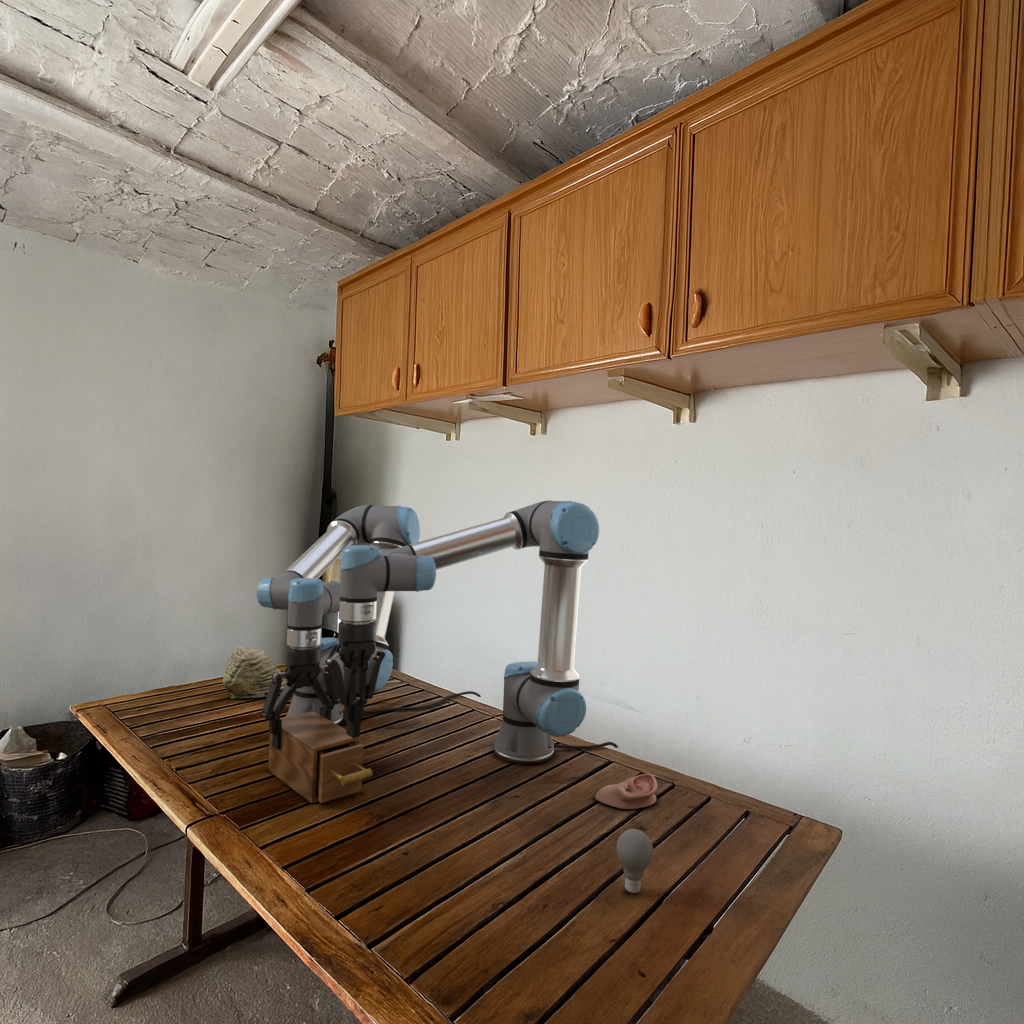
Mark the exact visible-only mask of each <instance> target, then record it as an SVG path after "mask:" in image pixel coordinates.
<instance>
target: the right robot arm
mask: <svg viewBox="0 0 1024 1024" xmlns="http://www.w3.org/2000/svg"><path fill="white" fill-rule="evenodd" d="M599 537H600V524H599V519H598V517H597V515H596V514H595V512H594V511H593V510H592V509H591V507H589V506H588V505H586V504H584V503H581V502H578V501H572V500H542V501H539V502H535V503H532V504H530V505H527V506H524V507H521V508H518V509H514V510H512V511H508V512H506V513H505V514H504V515H503V517H502V518H499V519H495V520H491V521H487V522H485V523H480V524H477V525H473V526H469V527H466V528H463V529H459V530H457V531H453V532H449V533H446V534H441V535H439V536H435V537H432V538H428V539H425V540H421V541H420V540H419V541H418V542H417V543H413V544H410V545H407V546H403V547H399V548H396V549H391V548H388V549H383V550H381V551H379V548H378V547H376V546H369V545H366V544H356V545H350V546H346V547H345V548H344V549H343V551H342V555H341V560H340V567H339V569H340V570H339V572H340V573H339V575H340V576H339V581H340V602H339V611H338V619H339V620H340V622H339V623H338V627H337V628H338V629H337V638H338V641H339V645H338V647H337V650H336V654H335V655H333V656H332V657H331V658H329V657H328V658H326V660H325V662H326V664H327V666H328V667H329V669H330V674H331V679H332V685H333V690H334V695H335V700H336V702H338V703H340V705H342V706H343V710H344V713H343V721H346V730H347V733H346V734H347V735H349V736H350V737H352V738H356V737H359V738H360V737H361V719H363V718H364V715H365V713H364V710H365V705H367V704H368V700H372V699H373V697H374V695H375V693H374V691H375V686H376V682H377V678H378V674H379V670H380V666H381V662H382V661H383V659H384V657H385V652H383V651H380V650H378V649H376V644H375V642H374V640H375V638H376V623H375V622H374V621H373V620H375V619H376V612H377V594H378V592H385V591H395V592H416V593H418V592H423V591H430V590H432V589H433V588H434V586H435V584H436V580H437V570H441V569H444V568H447V567H451V566H454V565H457V564H458V565H459V564H460V563H464V562H467V561H471V560H474V559H477V558H481V557H484V556H487V555H491V554H494V553H497V552H500V551H504V550H507V549H510V548H512V549H514V550H517V551H518V550H521V549H524V548H531V547H538V548H539V549H538V558H539V559H540V560H541V562H543V565H544V569H543V580H542V581H543V583H542V596H541V609H540V610H541V611H540V612H541V613H540V625H539V637H538V638H539V639H538V652H537V661H516V662H511V663H508V664H507V665H506V666H505V668H504V676H503V701H502V703H503V704H502V721H501V725H500V727H499V730H498V733H497V735H496V738H495V741H494V745H493V752H494V754H495V756H496V757H497V758H499V759H500V760H502V761H505V762H508V763H510V764H511V763H512V764H516V765H538V764H543V763H547V762H549V761H551V760H552V759H553V757H554V755H555V748H559V749H570V750H591V749H599V748H603V747H607V746H612V747H614V748H615V749H618V748H619V746H618V745H617V744H616V743H615V742H613V741H605V742H602V743H598V744H591V745H571V744H570V745H569V744H559V743H554V740H553V738H552V737H556V738H558V737H559V738H561V737H565V736H568V735H570V734H572V733H574V732H575V731H576V729H578V728H580V726H581V725H582V724H583V722H584V720H585V717H586V713H587V701H586V699H585V697H584V696H583V694H582V692H580V691H579V689H580V678H581V677H580V674H579V673H578V672H577V670H576V669H575V656H576V641H577V629H578V616H579V615H578V613H579V601H580V587H581V576H582V575H581V574H582V567H583V566H584V565H585V564H586V563H587V562H588V561H589V553H590V551H591V550H592V549H593V548H594V546H595V545H596V544H597V542H598V540H599ZM370 658H371V659H370ZM340 659H341V661H342V662H343V669H344V683H343V677H342V672H341V668H340V666H339V665H340V664H341V663H340ZM369 660H370V662H369V667H368V661H369ZM367 670H368V671H367Z"/></svg>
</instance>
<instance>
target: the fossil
mask: <svg viewBox="0 0 1024 1024" xmlns="http://www.w3.org/2000/svg"><path fill="white" fill-rule="evenodd" d="M274 672H276V673H281V669H279V668H278V667H277V665H276V663H275V662H274V660H273V659H272V658H271V657H270V656H269V655H268V654H267V653H266V652H265V650H264V649H263V648H260V647H258V648H251V647H247V646H246V647H245V646H238V647H237V648H236V649H235V650H233V651H232V653H231V656H230V657H229V659H228V660H227V663H226V666H225V668H224V671H223V675H222V676H223V677H222V685H223V687H224V688H225V690H226V691H228V693H229V698H230V699H250V698H264V697H267V695H268V692H269V689H270V686H271V683H272V673H274ZM286 682H287V679H286V677H285V678H284V682H282V685H281V689H280V691H279V694H278V695H281V693H282V691H283V689H284V685H285V684H286Z"/></svg>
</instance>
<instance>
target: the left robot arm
mask: <svg viewBox="0 0 1024 1024" xmlns="http://www.w3.org/2000/svg"><path fill="white" fill-rule="evenodd" d="M420 526H421V525H420V520H419V517H418V515H417V512H416V510H414V509H413V508H412V507H409V506H401V505H381V504H380V505H379V504H377V505H376V504H363V505H358V506H356V507H354V508H353V507H352V508H351V509H348V510H347V511H345V512H343V513H342V514H340V515H339V516H337V517H336V518H335V519H334V520H332V521H331V522H330V523H329V525H327V528H326V532H325V533H323V534H322V536H320V537H319V538H318V539H317V540H316V541H315V542H314V543H313V544H312V545H311V546H310V547H309V548H308V549H307V550H306V551H305V552H304V553H302V554H301V555H300V556H299V557H298V558H297V559H296V560H294V562H293V563H292V564H290V565H289V566H288V568H287V569H285V570H284V571H283V573H281V574H280V575H279V576H278V577H274V576H272V577H266V578H263V579H261V580H260V582H259V584H258V585H257V587H256V593H255V594H256V595H255V596H256V599H257V602H258V604H259V605H260V606H261V607H263V608H267V609H273V610H284V611H287V632H286V645H287V648H286V653H285V654H286V657H285V664H286V667H285V670H284V671H282V672H281V671H280V672H281V673H276V672H274V673H272V683H271V686H270V689H269V692H268V695H267V696H266V698H265V700H264V703H263V707H262V709H261V711H260V716H261V717H262V718H264V719H265V720H269V722H268V723H269V724H268V732H269V734H270V733H271V734H272V735H273V736H272V746H273V747H274V748H276V749H277V750H279V749H281V728H282V720H281V719H280V716H281V715H282V714H283V712H284V709H285V708H286V706H287V704H288V703H289V701H290V699H291V698H292V699H291V702H290V703H289V705H288V711H287V713H286V715H285V717H289V716H294V715H298V714H303V713H307V712H312V711H314V712H315V713H317V714H319V715H321V716H323V717H324V718H326V719H328V720H330V721H332V722H333V723H335V724H337V725H339V726H340V725H342V723H343V722H344V709H342V706H341V704H340V703H338V702H336V700H335V695H334V690H333V685H332V679H331V674H330V669H329V667H328V666H327V664H326V662H325V660H326V658H328V657H329V658H331V657H332V656H333V655H335V654H336V650H337V647H338V645H339V641H338V637H322V632H323V631H322V629H323V628H322V627H323V617H324V616H327V615H331V614H336V613H339V602H340V580H336V581H334V580H330V581H328V582H327V581H323V580H322V579H320V578H321V576H323V575H324V573H326V572H327V571H328V569H329V568H330V567H331V566H332V565H333V564H334V563H335V562H336V561H337V560H338V559H339V558H340V557H342V551H343V549H344V548H345V547H346V546H350V545H361V544H369V546H376V547H378V548H379V551H381V550H383V549H388V548H391V549H396V548H399V547H403V546H407V545H410V544H413V543H417V542H420V534H421V527H420ZM395 592H396V591H385V592H378V594H377V612H376V619H375V620H373V621H374V622H375V623H376V638H375V640H374V642H375V644H376V649H378V650H380V651H383V652H385V657H384V659H383V661H382V662H381V666H380V670H379V674H378V678H377V682H376V686H375V691H374V694H375V693H378V692H380V691H381V690H382V689H383V688H384V687H385V685H386V684H387V683H388V681H389V679H390V677H391V675H392V671H393V668H394V667H393V666H394V656H393V653H392V652H391V651H390V650H389V648H390V647H389V643H388V642H387V640H386V634H387V629H388V625H389V621H390V620H389V619H390V615H391V611H392V606H393V602H394V597H395V594H396V593H395ZM370 659H371V658H370ZM369 662H370V660H369V661H368V667H369ZM340 663H341V664H340V665H339V666H340V668H341V672H342V677H343V683H344V669H343V662H342V661H341V659H340ZM367 671H368V670H367ZM284 678H285V680H286V684H285V685H284V689H283V691H282V693H280V694H279V691H280V689H281V685H282V682H284ZM464 695H473V696H474V695H475V696H476V697H478V698H481V697H482V695H481V694H479V693H478V692H476V691H473V690H472V691H471V690H468V691H463V692H458V693H455V694H454V693H453V694H449V695H447V696H445V697H444V698H442V699H440V700H438V701H436V702H433V703H430V704H427V705H422V706H412V707H410V706H408V707H407V706H405V707H403V706H402V707H389V708H380V709H371V710H369V709H368V710H366V709H364V714H376V713H386V712H394V711H417V710H418V711H419V710H424V709H425V710H426V709H430V708H432V707H434V706H437V705H439V704H442V703H444V702H445V701H447V700H449V699H451V698H455V697H460V696H464ZM292 696H293V697H292Z"/></svg>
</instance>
